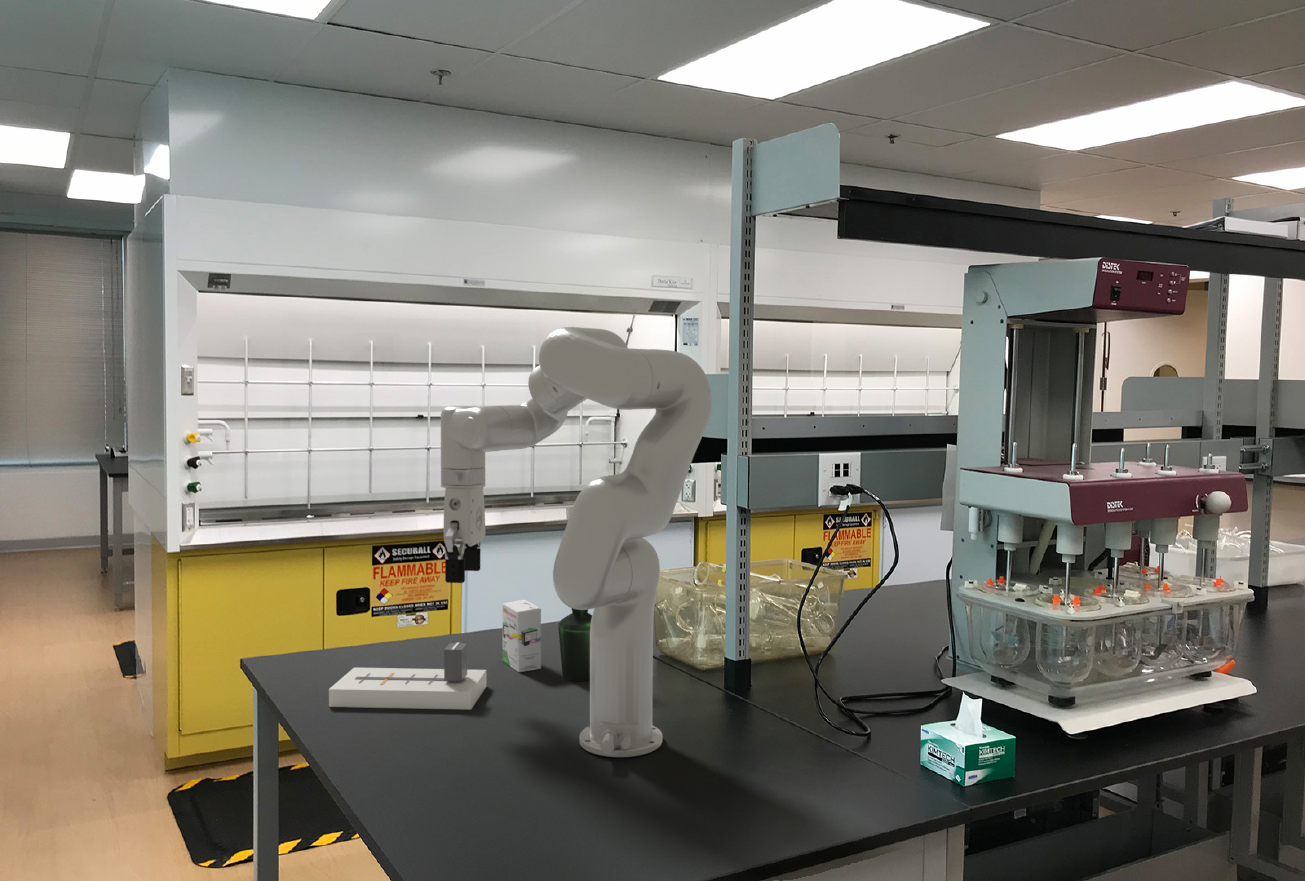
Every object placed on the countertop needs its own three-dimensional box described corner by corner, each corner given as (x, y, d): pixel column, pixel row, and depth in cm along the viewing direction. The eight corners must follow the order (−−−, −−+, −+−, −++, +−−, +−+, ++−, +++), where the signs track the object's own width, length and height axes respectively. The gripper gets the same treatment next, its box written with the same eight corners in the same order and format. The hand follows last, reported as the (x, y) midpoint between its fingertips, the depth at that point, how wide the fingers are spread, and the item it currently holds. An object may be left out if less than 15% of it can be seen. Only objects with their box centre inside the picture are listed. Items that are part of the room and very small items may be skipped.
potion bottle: (600, 683, 173) (600, 585, 172) (555, 682, 173) (555, 584, 172) (603, 669, 181) (603, 575, 180) (560, 668, 181) (560, 575, 180)
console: (471, 709, 159) (470, 691, 158) (329, 706, 160) (328, 688, 159) (486, 686, 171) (486, 669, 170) (354, 683, 172) (354, 667, 171)
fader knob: (461, 681, 162) (461, 649, 162) (444, 681, 163) (443, 648, 162) (467, 674, 167) (467, 642, 166) (450, 674, 167) (450, 642, 166)
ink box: (501, 661, 186) (501, 601, 185) (524, 657, 188) (524, 598, 188) (518, 673, 178) (517, 611, 178) (542, 669, 181) (542, 608, 180)
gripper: (470, 484, 155) (470, 588, 156) (497, 473, 172) (497, 567, 173) (425, 483, 155) (426, 586, 156) (456, 472, 172) (456, 565, 174)
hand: (463, 576), depth 165 cm, fingers open, 9 cm apart
